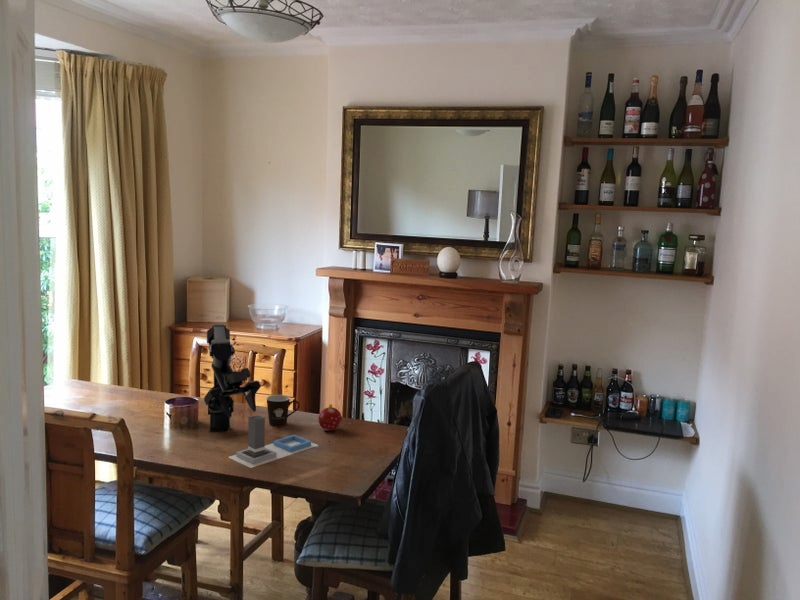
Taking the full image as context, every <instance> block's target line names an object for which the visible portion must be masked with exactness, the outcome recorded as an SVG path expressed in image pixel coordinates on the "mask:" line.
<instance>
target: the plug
mask: <svg viewBox="0 0 800 600" xmlns="http://www.w3.org/2000/svg"><path fill="white" fill-rule="evenodd" d="M265 420H266V418H265V417H264V416H261V415H254V416H253V415H252V416H250V417H248V445H247V449H248V450H246V451H245V454H246V455H248V456H250V457H252V458H257V457H260V456H263V455H266V454H268V451H266V450H265V446H266V445H265V437H266V436H265V435H266V434H265V433H266V426H265V424H266V421H265Z"/></svg>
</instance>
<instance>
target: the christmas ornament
mask: <svg viewBox="0 0 800 600" xmlns="http://www.w3.org/2000/svg"><path fill="white" fill-rule="evenodd" d="M342 421H343V416H342V414H341V411H340V410H338V409H337V408H336V407H333V404H332V403H329V405H328V407H326V408H324V409H321V411H320V413H319V414H318V423H319V424H318V425H319V426H320V427H321V428H322V429H323V430H324V431H327V432H333V431H335V430H337V429H338V428H340V427H341V424H342Z"/></svg>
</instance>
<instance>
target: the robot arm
mask: <svg viewBox="0 0 800 600" xmlns="http://www.w3.org/2000/svg"><path fill="white" fill-rule="evenodd" d="M207 344H208V350H209V357H211V359H212V364H211V369H212V371H213V386H212V387H211V388H210V389H208V391H207V392H206V393H205V396H204V398H203V400H204V403H205V405H206V406H207V415H209V429H208V431H209V432H228V431H229V429H230V428H231V421H232V420H231V418H232V417H233V415H232V413H233V412H234V403H235V401H234V400H233V397H232V396H233V395H238V394H242V395H243V396H245V397H244V400H245V402H246V403H247V405H248V406H249V408H250V409H251V411H253V413H255V412H256V411H257V406H256V394H257V392H258V391H259V390H260V388H262V385H261V383H260V381H258V380H251V381H248V378H250V377H251V375H252V374H251V371H250V370H249V367H246V368H243V369H241V370H240V371H233V368H232V367H231V364H232V363H231V362H232V356H234V355H235V354H236V350H235V347H234V346H233V344H231V331H230V329H229V328H227V325H226V324H225V323H224V324H223V323H222V324H220V323H219V324H211V327H210V328H209V329H207V330H206V345H207ZM246 381H248V382H247V383H245V385H244V382H246ZM243 385H244V386H243Z"/></svg>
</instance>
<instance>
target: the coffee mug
mask: <svg viewBox="0 0 800 600" xmlns="http://www.w3.org/2000/svg"><path fill="white" fill-rule="evenodd" d="M290 400H291V397H290V396H288V395H286V394H273V395H269V396H267V397H266V406H267V414H268V425H269V426H271V427H275V426H278V428H279V427H284V426H286V425H287V424H288V423H287V422H288V418H289V416H291V415H293V414H294V413H295V412H297V411H298V410H299V408H300V402H299V401H298V400H295V399H294V400H292V401H290ZM293 403H296V404H297V405H298V406H297V407H296V409H294V410H293V411H291V412H290V413H289V408H290V406H291V405H292V404H293Z"/></svg>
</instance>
